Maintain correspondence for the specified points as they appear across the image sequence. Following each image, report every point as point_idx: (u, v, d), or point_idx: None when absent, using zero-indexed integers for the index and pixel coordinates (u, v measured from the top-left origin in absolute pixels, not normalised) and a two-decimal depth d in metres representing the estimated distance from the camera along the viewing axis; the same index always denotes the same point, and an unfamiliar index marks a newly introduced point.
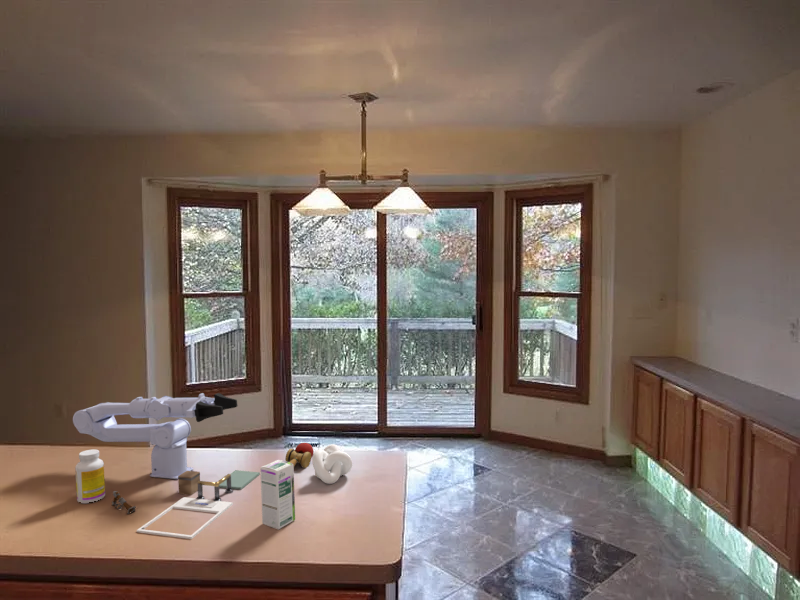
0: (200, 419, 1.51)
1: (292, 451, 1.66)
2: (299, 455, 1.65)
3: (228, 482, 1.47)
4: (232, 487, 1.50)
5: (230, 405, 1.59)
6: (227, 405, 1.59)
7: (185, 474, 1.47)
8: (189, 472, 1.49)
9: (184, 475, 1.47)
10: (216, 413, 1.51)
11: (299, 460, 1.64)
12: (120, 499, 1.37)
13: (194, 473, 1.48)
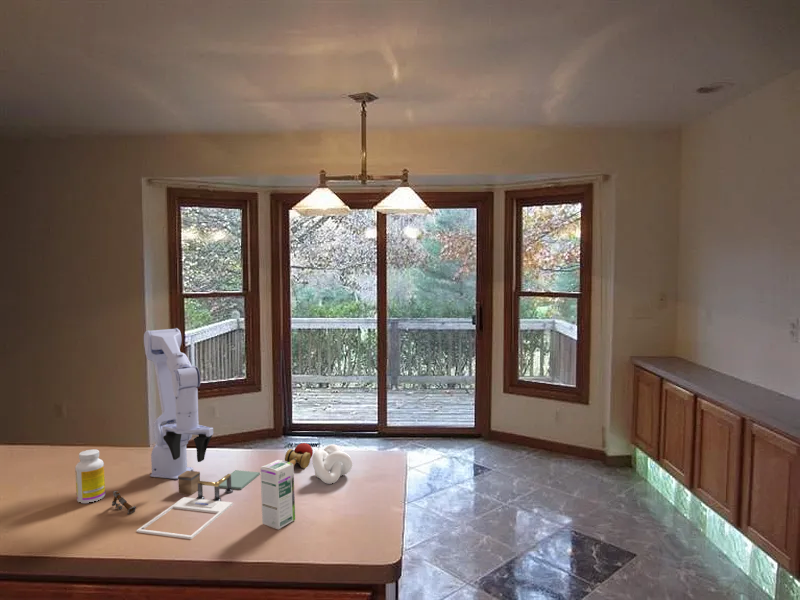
0: None
1: (291, 452, 1.66)
2: (298, 456, 1.65)
3: (228, 482, 1.47)
4: (232, 487, 1.50)
5: None
6: None
7: (185, 474, 1.47)
8: (189, 472, 1.49)
9: (184, 475, 1.47)
10: None
11: (298, 461, 1.64)
12: (120, 499, 1.37)
13: (194, 473, 1.48)
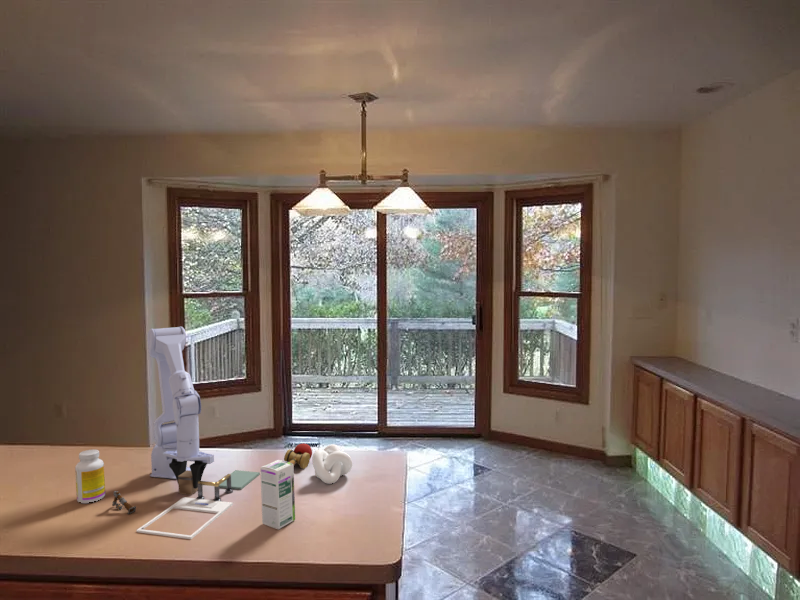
0: None
1: (291, 452, 1.65)
2: (298, 456, 1.65)
3: (228, 482, 1.47)
4: (232, 487, 1.50)
5: None
6: None
7: (185, 474, 1.47)
8: (189, 472, 1.49)
9: (184, 475, 1.47)
10: None
11: (298, 461, 1.64)
12: (121, 499, 1.37)
13: None
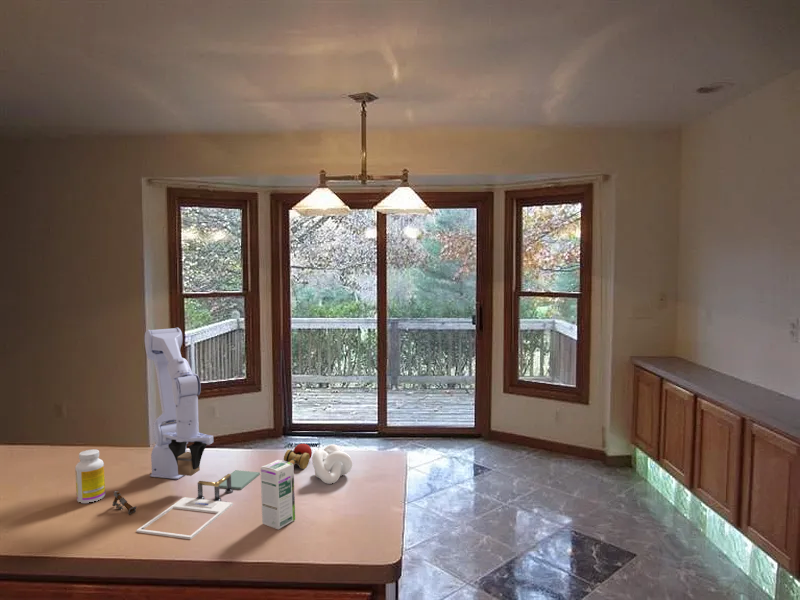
0: None
1: (290, 452, 1.65)
2: (297, 456, 1.64)
3: (228, 482, 1.47)
4: (232, 487, 1.50)
5: None
6: None
7: (184, 455, 1.47)
8: (188, 453, 1.48)
9: (183, 456, 1.46)
10: None
11: (297, 461, 1.63)
12: (121, 499, 1.36)
13: None
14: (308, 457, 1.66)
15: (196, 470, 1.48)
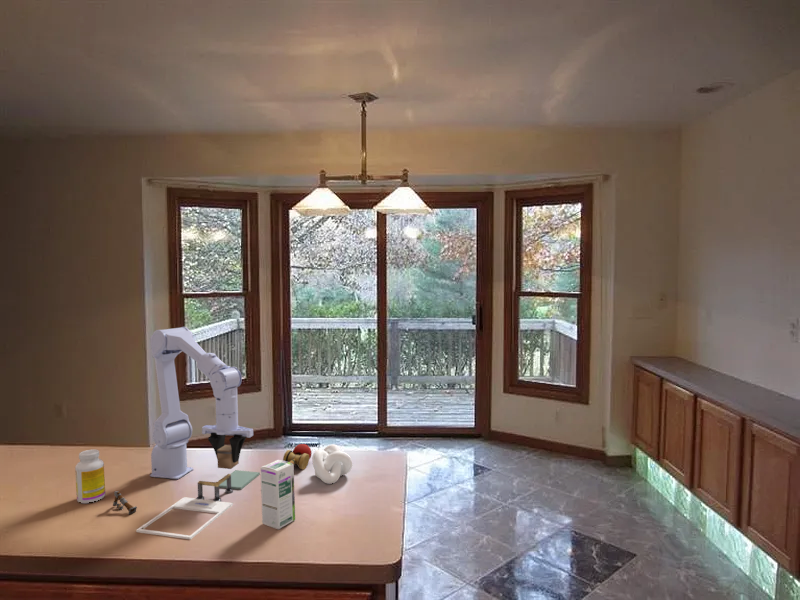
0: None
1: (290, 452, 1.65)
2: (297, 456, 1.64)
3: (228, 482, 1.47)
4: (232, 487, 1.50)
5: None
6: None
7: (224, 448, 1.46)
8: (228, 446, 1.48)
9: (223, 449, 1.46)
10: None
11: (297, 462, 1.63)
12: (121, 499, 1.36)
13: None
14: (308, 457, 1.66)
15: (235, 463, 1.47)
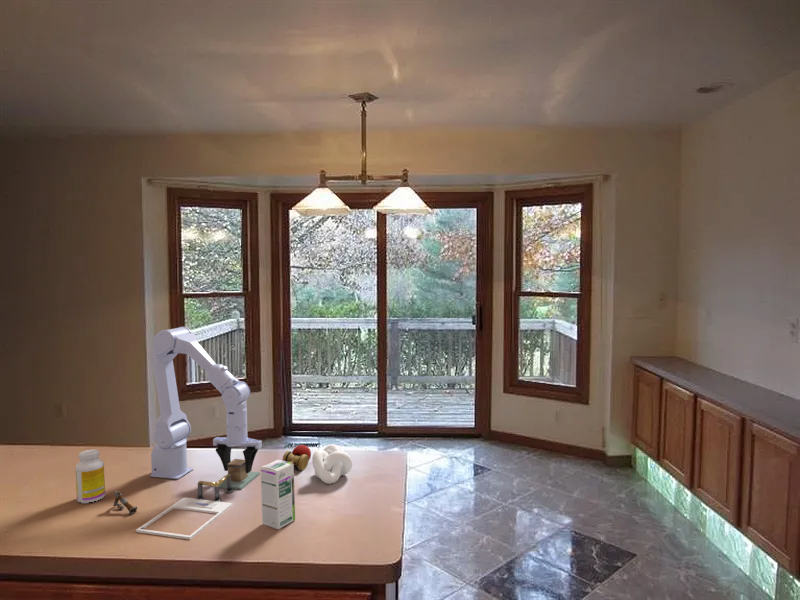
0: None
1: (289, 453, 1.64)
2: (296, 457, 1.63)
3: (228, 482, 1.47)
4: (232, 487, 1.50)
5: None
6: None
7: (234, 462, 1.54)
8: (237, 460, 1.56)
9: (233, 463, 1.54)
10: None
11: (296, 463, 1.62)
12: (122, 499, 1.36)
13: (242, 461, 1.55)
14: (307, 458, 1.65)
15: (245, 476, 1.55)
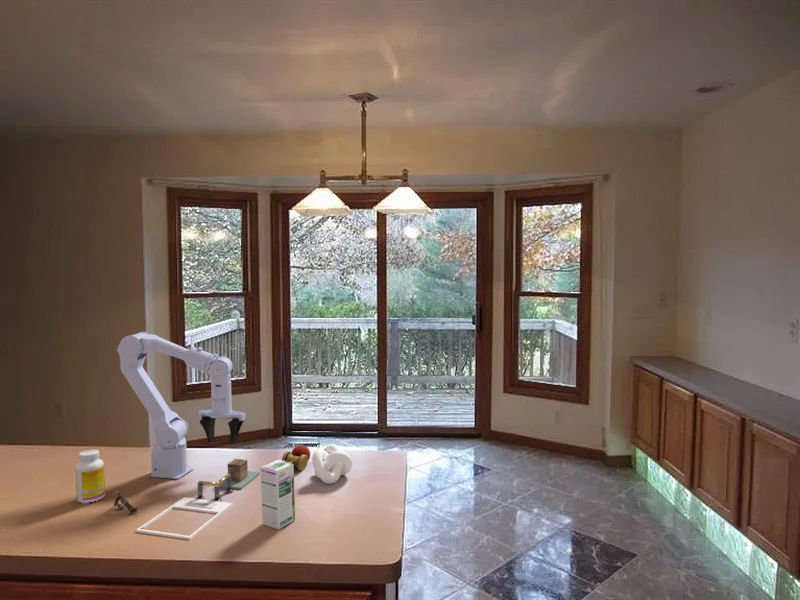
0: None
1: (288, 454, 1.64)
2: (295, 458, 1.63)
3: (228, 482, 1.47)
4: (232, 487, 1.50)
5: None
6: None
7: (234, 462, 1.54)
8: (237, 460, 1.56)
9: (233, 463, 1.54)
10: None
11: (295, 463, 1.62)
12: (122, 499, 1.36)
13: (242, 461, 1.55)
14: (306, 459, 1.65)
15: (245, 476, 1.55)
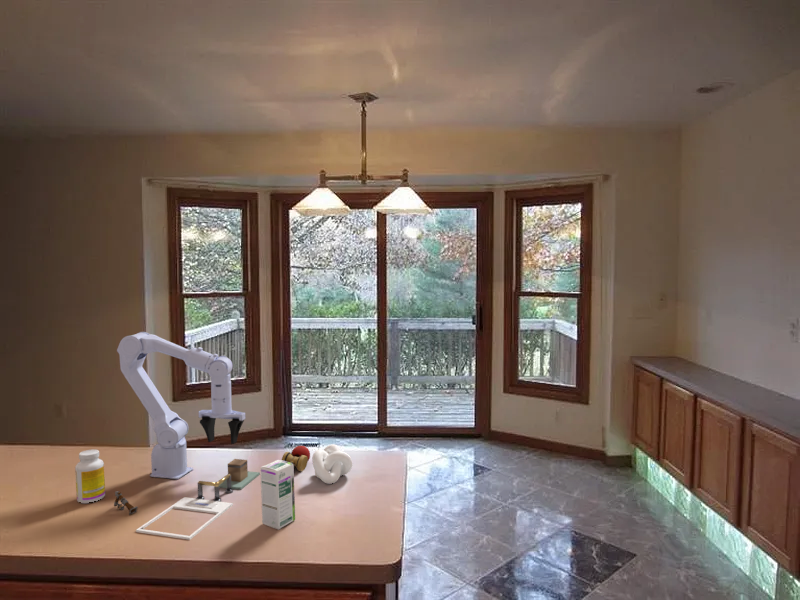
0: None
1: (288, 454, 1.64)
2: (295, 458, 1.63)
3: (228, 482, 1.47)
4: (232, 487, 1.50)
5: None
6: None
7: (234, 462, 1.54)
8: (237, 460, 1.56)
9: (233, 463, 1.54)
10: None
11: (295, 463, 1.62)
12: (122, 499, 1.36)
13: (242, 461, 1.55)
14: (306, 459, 1.64)
15: (245, 476, 1.55)
